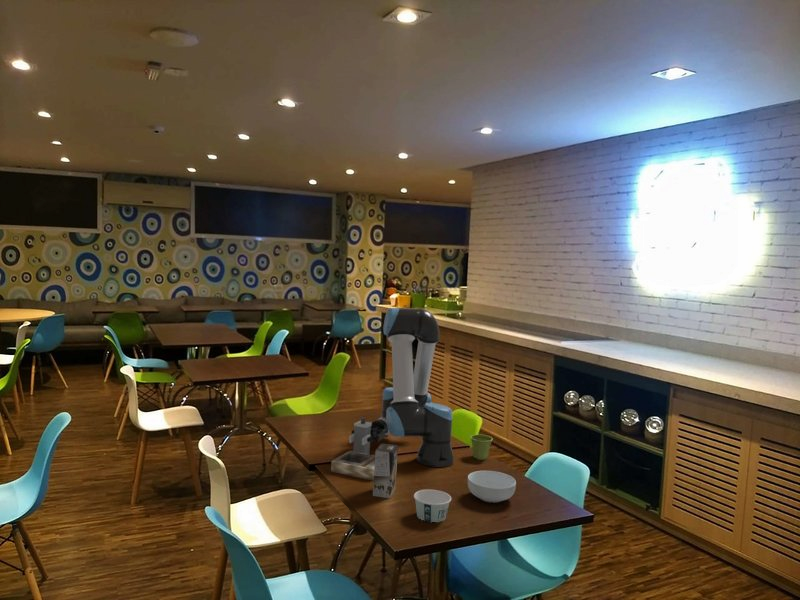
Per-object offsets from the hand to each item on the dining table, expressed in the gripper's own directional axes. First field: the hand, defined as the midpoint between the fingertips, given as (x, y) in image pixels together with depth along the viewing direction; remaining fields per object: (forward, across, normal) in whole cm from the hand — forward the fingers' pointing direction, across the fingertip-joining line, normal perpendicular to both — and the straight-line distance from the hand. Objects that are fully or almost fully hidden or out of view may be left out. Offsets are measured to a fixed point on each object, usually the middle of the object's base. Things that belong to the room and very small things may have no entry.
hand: (356, 440), depth 239 cm
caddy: (+9, -7, -8) cm, 14 cm away
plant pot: (-32, -43, -8) cm, 54 cm away
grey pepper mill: (-5, 0, -8) cm, 10 cm away
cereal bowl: (+10, -58, -9) cm, 59 cm away
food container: (+35, -45, -9) cm, 58 cm away
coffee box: (+25, -24, -8) cm, 36 cm away
